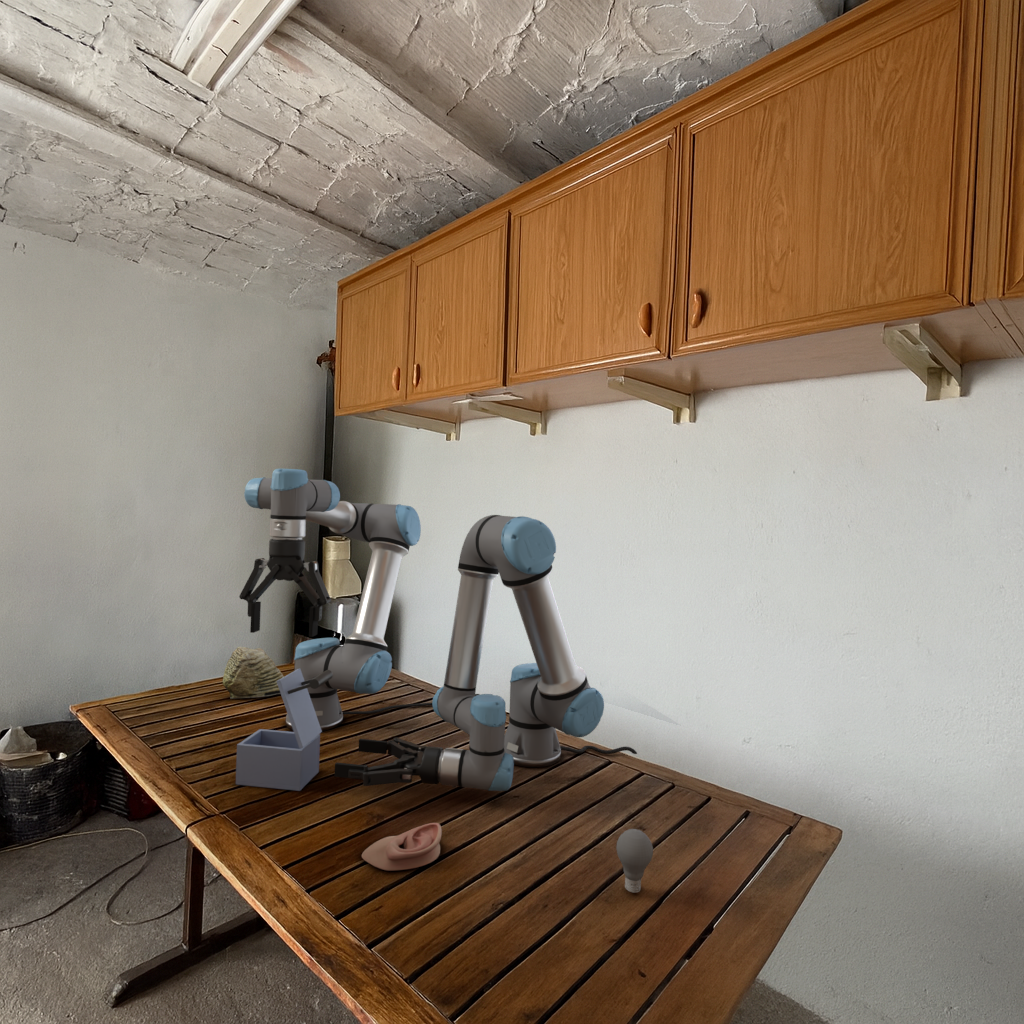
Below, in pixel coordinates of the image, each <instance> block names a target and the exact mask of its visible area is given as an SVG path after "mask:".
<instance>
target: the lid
mask: <svg viewBox="0 0 1024 1024" xmlns="http://www.w3.org/2000/svg"><path fill="white" fill-rule="evenodd" d="M332 676H333V673H332V672H331V671H330V670H326V671H324V672H323V673H321V674H320V675H318V676H316V677H315V678H313V679H310V680H307V681H304V678H303V675H302V672H301V669H297V670H295V671H294V670H293V671H292V672H290V673H288V674H286V675H285V676H284V677H283V678H281V679H279V680H278V681H277V684H278V687H279V690H280V695H281V699H282V701H283V704H284V707H285V710H286V714H287V713H288V716H289V719H290V722H291V725H292V728H293V730H292V732H294V734H295V737H296V739H297V742H298V745H299V748H300V749H301V748H303V747H305V746H306V745H307V744H308V743H309V742H310V741H312V740H313V739H314V738H315V737H316V736H317V735H319V734H320V735H321V733H323V731H322V730H321V727H320V724H319V722H318V719H317V716H316V713H315V710H314V707H313V704H312V701H311V698H310V695H309V693H308V690H307V688H308V687H311V688H313V689H316V688H318V687H319V686H321V685H322V684H324V683H325V682H327V681H328V680H330V679H331V678H332ZM308 683H309V684H308Z"/></svg>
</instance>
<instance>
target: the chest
mask: <svg viewBox="0 0 1024 1024" xmlns="http://www.w3.org/2000/svg"><path fill="white" fill-rule="evenodd" d="M320 747H321V733H320V734H319V735H317V736H316V737H315V738H314V739H313V740H312V741H310V742H309V743H308V744H307V745H306V746H305V747H303V748H301V749H300V748H299V745H298V742H297V739H296V737H295V734H294V731H288V730H276V729H275V730H274V729H264V728H259V729H258V730H256V731H255V732H254V733H252V734H251V735H249V736H247V737H246V738H245V739H244V740H242V741H240V742H238V743H237V744H236V762H235V785H237V786H249V787H257V788H266V789H267V788H268V789H276V790H277V789H278V790H285V791H297V792H301V791H302V789H304V788H305V786H306V785H308V784H309V783H310V781H312V780H313V778H315V777H316V776H317V774H318V773H319V772H320V751H321V748H320Z"/></svg>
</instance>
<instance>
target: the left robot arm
mask: <svg viewBox="0 0 1024 1024" xmlns="http://www.w3.org/2000/svg"><path fill="white" fill-rule="evenodd" d="M243 494H244V500H245V502H246V504H247V505H248V506H249V507H251V508H254V509H259V510H270V515H269V517H270V518H269V536H270V537H271V538H270V540H269V543H268V556H269V557H268V559H265V558H264V557H260V558H255V560H254V563H253V569H252V571H251V573H250V575H249V577H248V578H247V580H246V582H245V585H244V586H243V587H242V590H241V592H240V594H239V596H238V597H239V599H240V600H243V601H246V603H247V617H248V618H250V627H249V628H250V629H249V633H252V634H253V633H257V632H260V630H261V607H262V601H259V599H260V597H262V595H263V594H264V593H265V592H266V591H267V590H268V588H270V586H271V585H272V584H273V583H274V582H275V581H276V580H277V581H283V580H284V581H288V582H293V581H294V583H296V584H297V585H298V587H299V588H300V589H301V591H302V592H303V593H304V594H305V596H306V597H307V599H308V600H309V601H310V603H311V604H312V606H309V619H308V620H309V621H308V622H309V623H308V638H313V637H315V636H317V635H318V627H319V622H320V621H322V618H323V606H324V605H327V604H330V603H331V602H332V598H331V596H330V594H329V591H328V589H327V587H326V584H325V583H324V580H323V577H322V576H321V573H320V570H319V562H318V561H317V560H314V561H313V560H312V561H308V562H306V561H305V555H306V554H305V553H306V540H305V539H303V538H305V537H306V531H307V527H306V526H307V525H306V524H307V521H308V522H310V523H315V524H317V525H320V526H324V527H327V528H328V529H329V530H330V531H331V532H333V533H335V534H338V535H340V536H345V537H347V538H349V539H353V540H356V541H359V542H364V543H368V547H369V548H370V549H371V556H370V559H369V560H370V561H369V564H368V568H367V572H366V576H365V581H364V585H363V589H362V593H361V597H360V602H359V606H358V609H357V614H356V618H355V622H354V626H353V630H352V633H351V634H350V635H348V636H347V637H345V640H344V643H343V645H340V644H341V641H340V639H339V638H337V637H321V638H313V639H307V640H304V641H302V642H299V643H298V644H297V645H296V647H295V652H294V653H295V654H294V658H293V660H294V670H293V671H295V670H297V669H301V672H302V675H303V678H304V681H307V680H310V679H313V678H315V677H316V676H318V675H320V674H321V673H323V672H324V671H326V670H330V671H331V672H332V673H333V676H332V678H331V679H330V680H328V681H327V682H325V683H324V684H322V685H321V686H319V687H318V688H316V689H313V688H311V687H308V688H307V690H308V693H309V695H310V698H311V701H312V704H313V707H314V710H315V713H316V716H317V719H318V722H319V724H320V727H321V730H322V732H325V731H329V730H332V729H335V728H337V727H339V726H340V725H342V723H343V722H344V716H347V715H372V714H376V713H381V712H384V711H388V710H393V709H401V708H415V707H429V706H430V707H431V706H433V705H432V702H420V703H406V704H396V705H389V706H385V707H381V708H378V709H374V710H353V711H352V710H351V711H343V709H342V706H341V702H340V699H339V695H338V691H345V692H351V693H356V694H359V695H362V694H366V695H373V694H376V693H378V692H380V691H381V690H382V689H383V688H384V686H385V685H386V683H387V682H388V680H389V678H390V675H391V671H392V667H393V662H392V661H393V658H392V655H391V653H390V652H388V651H387V650H388V644H387V643H386V641H385V634H386V630H387V626H388V620H389V617H390V613H391V608H392V604H393V599H394V594H395V590H396V587H397V586H396V585H397V582H398V576H399V572H400V568H401V563H402V558H403V557H405V556H407V555H408V554H409V551H410V547H413V546H417V544H418V542H419V541H420V539H421V531H422V528H421V527H422V526H421V520H420V516H419V514H418V512H417V510H416V509H415V508H414V507H412V506H411V505H405V504H400V503H398V504H393V503H391V504H388V503H372V502H371V503H370V502H368V503H366V502H365V503H361V502H359V503H358V502H357V503H356V502H349V501H346V500H341V492H340V489H339V487H338V486H337V484H335V483H334V482H333V481H329V480H326V479H309V477H308V472H307V470H306V469H305V470H304V469H297V468H275V469H274V470H273V471H272V474H271V477H265V476H264V477H253V478H250V480H249V481H248V482H247V483H246V485H245V488H244V493H243ZM266 568H268V569H269V572H268V573H267V575H266V576H265V577H264V579H263V580H262V581H261V582H260V583H259V585H257V584H258V582H259V580H260V578H261V576H262V574H263V572H264V569H266ZM305 569H306V571H307V572H308V574H309V577H310V579H311V582H312V584H313V586H314V587H313V586H312V584H311V583H310V582H309V580H308V578H307V576H306V575H305V574H304V570H305ZM256 586H257V587H256ZM308 684H309V683H308ZM477 695H480V693H475V696H477ZM285 726H286V728H287V729H289V730H291V731H293V728H292V725H291V722H290V719H289V716H288V713H287V712H286V715H285Z"/></svg>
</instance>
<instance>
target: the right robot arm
mask: <svg viewBox="0 0 1024 1024" xmlns="http://www.w3.org/2000/svg"><path fill="white" fill-rule="evenodd" d="M556 553H557V543H556V538H555V535H554V533H553V532H552V530H551V529H550V527H548V525H547V524H546V523H544V522H543V521H540V520H539V519H536V518H532V517H528V516H523V515H520V516H510V515H500V514H491V515H487V516H484V517H482V518H480V519H479V520H477V521H476V522H475V523H474V524H473V525H472V527H471V528H470V529H469V531H468V533H467V534H466V536H465V538H464V541H463V543H462V547H461V549H460V553H459V559H458V565H457V571H458V572H459V574H460V580H459V586H458V593H457V599H456V606H455V611H454V618H453V624H452V630H451V632H452V633H451V637H450V644H449V649H448V656H447V662H446V669H445V675H444V681H443V686H441V687H440V688H438V689H437V691H436V693H435V694H434V695H433V697H432V701H431V703H432V705H431V706H432V709H433V711H434V713H435V714H436V716H438V717H439V718H441V719H442V720H443V721H444V722H446V723H447V724H451V725H452V726H454V727H455V728H458V729H459V730H461V732H464V733H465V734H467V735H469V740H468V741H469V742H468V749H464V748H456V747H455V748H452V747H445V748H443V747H439V746H429V745H428V746H427V745H421V744H417V743H414V742H411V741H408V740H406V739H402V738H399V737H393V739H390V740H388V741H387V740H379V739H377V740H376V739H369V738H368V739H367V738H359V739H358V752H359V753H360V752H361V753H369V754H378V755H379V754H381V755H386V754H387V755H388V756H391V755H392V756H394V757H395V758H397V759H395V760H394V761H393V762H389V763H384V764H379V765H374V766H368V765H367V764H357V763H356V764H354V763H346V762H335V763H334V775H333V776H334V778H343V779H353V780H362V781H363V784H362V786H364V787H372V786H380V785H391V784H399V783H400V784H411V783H412V782H413V777H415V776H419V777H420V781H421V783H422V784H428V785H439V784H440V785H441V786H446V787H447V786H449V787H451V788H453V789H455V788H456V787H457V788H458V787H459V788H467V789H477V790H484V791H487V792H491V791H492V792H507V791H509V790H510V789H511V787H512V785H513V780H514V779H513V778H514V768H515V767H514V766H519V767H525V768H544V767H549V766H552V765H555V764H557V763H558V762H559V761H560V760H561V758H562V751H565V752H570V753H573V754H577V755H579V754H583V753H584V752H586V751H587V750H589V751H591V750H592V751H594V752H596V753H599V754H602V755H612V754H613V755H614V754H616V753H620V752H624V751H628V752H630V753H631V754H633V755H637V754H638V752H637V751H636V750H635V749H634V748H633V747H630V746H619V747H617V748H613V749H601V748H599V747H596V746H594V745H584V746H583V747H582V748H581V749H575V748H573V747H568V746H563V745H560V740H559V737H558V733H557V730H558V731H560V732H562V733H564V734H565V735H568V736H571V737H574V738H584V737H586V736H588V735H590V734H591V733H593V732H594V731H595V729H597V727H598V726H599V724H600V722H601V720H602V717H603V715H604V710H605V700H604V697H603V694H602V693H601V692H600V691H599V690H598V689H597V688H595V687H591V686H590V683H589V680H588V677H587V674H586V671H585V669H584V668H583V667H581V666H579V665H577V663H576V660H575V657H574V654H573V651H572V647H571V645H570V642H569V638H568V635H567V632H566V628H565V625H564V622H563V619H562V616H561V613H560V609H559V607H558V603H557V600H556V597H555V594H554V591H553V588H552V584H551V581H550V578H549V577H550V575H551V573H552V572H553V563H554V560H555V559H556V557H555V554H556ZM497 577H500V579H501V583H502V585H503V586H504V587H506V588H509V589H511V591H512V594H513V597H514V600H515V603H516V606H517V609H518V612H519V615H520V618H521V621H522V624H523V627H524V630H525V633H526V636H527V639H528V642H529V645H530V648H531V651H532V654H533V657H534V660H535V662H529V663H528V662H527V663H521V664H518V665H515V666H514V667H513V668H512V669H511V675H510V680H509V685H510V686H509V712H508V713H509V715H508V725H507V728H506V721H507V714H506V700H505V699H504V698H503V697H502V696H500V695H498V694H493V693H482V694H480V693H479V694H480V695H477V696H475V694H476V690H477V683H478V678H479V673H480V672H479V671H480V666H481V658H482V654H483V653H482V652H483V646H484V640H485V635H486V634H485V633H486V628H487V621H488V614H489V608H490V602H491V596H492V590H493V584H494V580H495V579H496V578H497Z"/></svg>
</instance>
